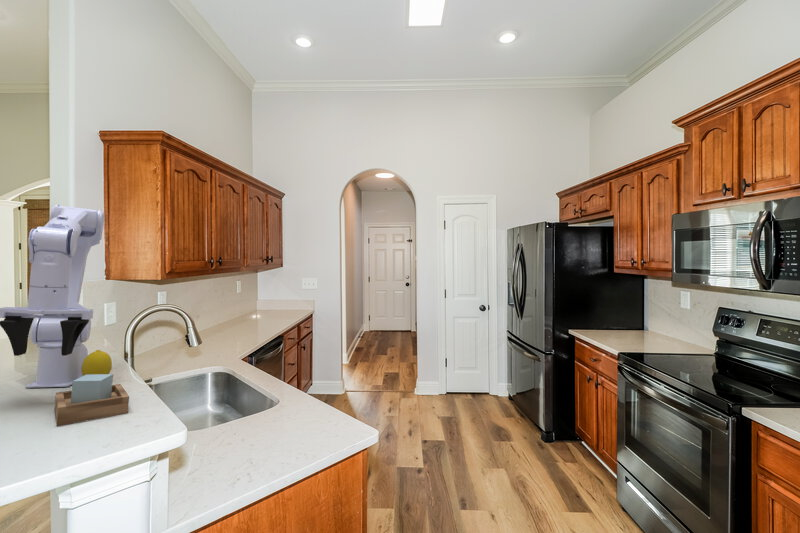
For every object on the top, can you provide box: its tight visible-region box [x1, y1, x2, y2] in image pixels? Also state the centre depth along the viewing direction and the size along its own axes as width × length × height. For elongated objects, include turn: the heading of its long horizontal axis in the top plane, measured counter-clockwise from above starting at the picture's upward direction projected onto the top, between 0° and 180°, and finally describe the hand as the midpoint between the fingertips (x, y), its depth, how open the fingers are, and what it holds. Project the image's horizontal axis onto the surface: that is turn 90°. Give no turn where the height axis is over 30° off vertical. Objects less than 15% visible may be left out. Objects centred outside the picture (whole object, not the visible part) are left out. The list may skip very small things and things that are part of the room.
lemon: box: [81, 349, 113, 376], centre depth 85 cm, size 6×6×8 cm
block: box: [71, 373, 114, 404], centre depth 69 cm, size 4×4×4 cm
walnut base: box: [53, 383, 130, 427], centre depth 69 cm, size 10×10×3 cm
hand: (43, 354), depth 71 cm, fingers open, 7 cm apart
